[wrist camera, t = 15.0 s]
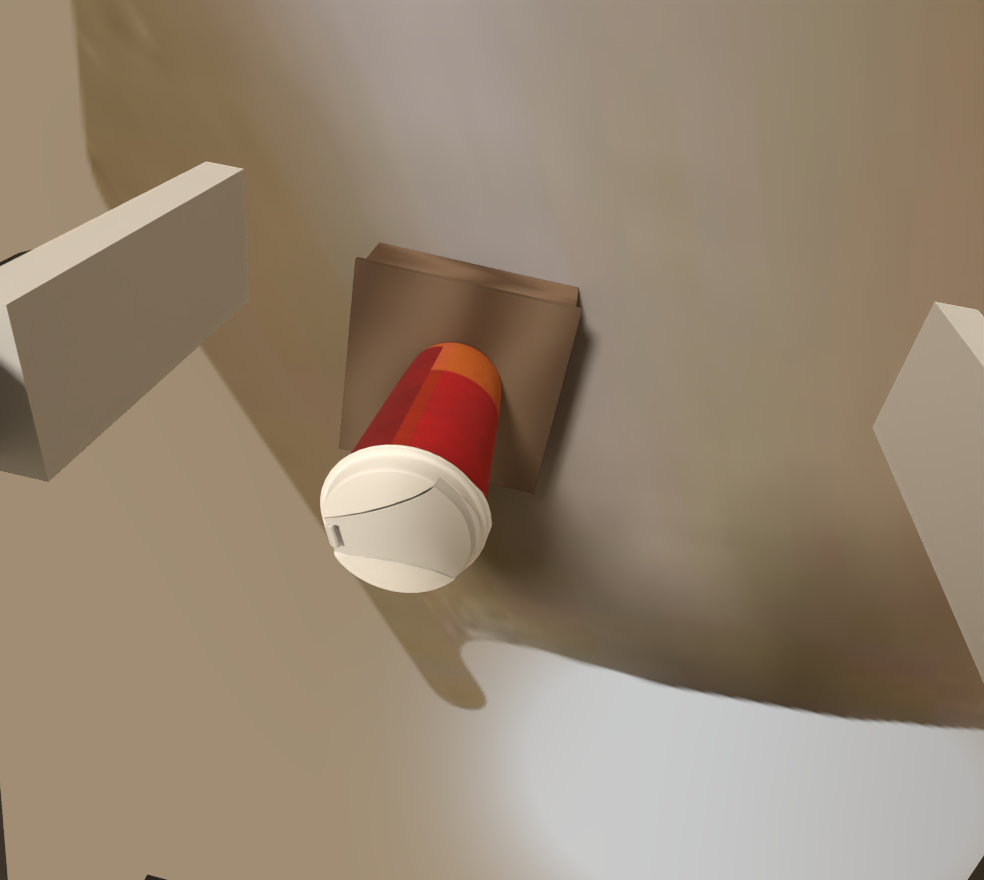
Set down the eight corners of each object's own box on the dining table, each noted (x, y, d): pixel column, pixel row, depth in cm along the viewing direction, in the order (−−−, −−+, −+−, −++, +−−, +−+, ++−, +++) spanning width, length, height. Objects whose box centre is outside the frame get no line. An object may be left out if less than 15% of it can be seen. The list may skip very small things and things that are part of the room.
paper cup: (404, 443, 48) (334, 602, 36) (378, 329, 44) (289, 465, 32) (529, 437, 47) (498, 601, 35) (513, 318, 43) (472, 458, 31)
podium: (585, 284, 45) (581, 310, 42) (539, 458, 52) (533, 493, 49) (374, 236, 45) (355, 259, 42) (357, 416, 52) (339, 448, 49)
